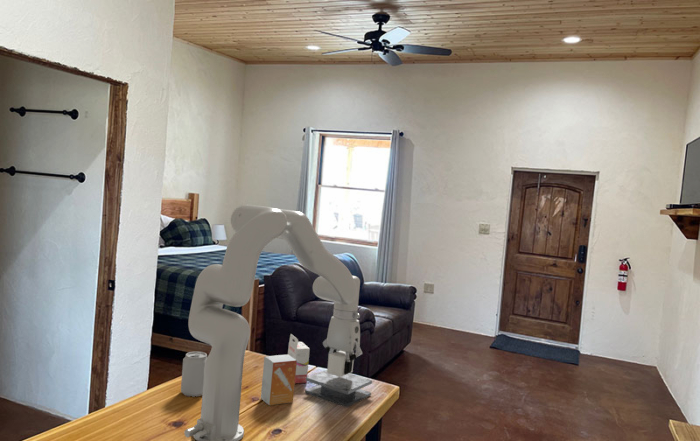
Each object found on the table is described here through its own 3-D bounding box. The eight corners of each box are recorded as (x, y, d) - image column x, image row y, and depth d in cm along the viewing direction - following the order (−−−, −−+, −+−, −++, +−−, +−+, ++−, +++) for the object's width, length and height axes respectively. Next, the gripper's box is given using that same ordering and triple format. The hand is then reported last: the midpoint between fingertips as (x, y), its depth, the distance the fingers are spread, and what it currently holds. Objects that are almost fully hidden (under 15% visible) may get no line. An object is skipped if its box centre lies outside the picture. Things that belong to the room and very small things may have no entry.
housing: (352, 372, 175) (354, 353, 175) (340, 376, 170) (341, 357, 169) (339, 368, 178) (341, 350, 178) (327, 372, 172) (328, 354, 172)
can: (175, 395, 162) (178, 355, 161) (188, 387, 169) (191, 348, 169) (198, 399, 160) (201, 359, 160) (210, 391, 167) (213, 352, 167)
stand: (346, 407, 164) (348, 391, 164) (304, 393, 173) (306, 377, 173) (370, 395, 176) (372, 380, 175) (330, 382, 184) (331, 368, 184)
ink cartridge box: (307, 383, 182) (311, 339, 181) (293, 384, 180) (297, 340, 179) (299, 374, 190) (302, 332, 189) (285, 375, 188) (289, 333, 187)
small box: (269, 406, 160) (272, 362, 159) (260, 398, 165) (263, 356, 165) (293, 402, 164) (297, 359, 164) (284, 395, 170) (287, 353, 169)
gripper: (374, 318, 171) (368, 375, 172) (330, 307, 181) (325, 362, 182) (361, 321, 165) (355, 380, 166) (316, 310, 175) (311, 366, 175)
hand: (340, 370), depth 174 cm, fingers closed on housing, 5 cm apart
